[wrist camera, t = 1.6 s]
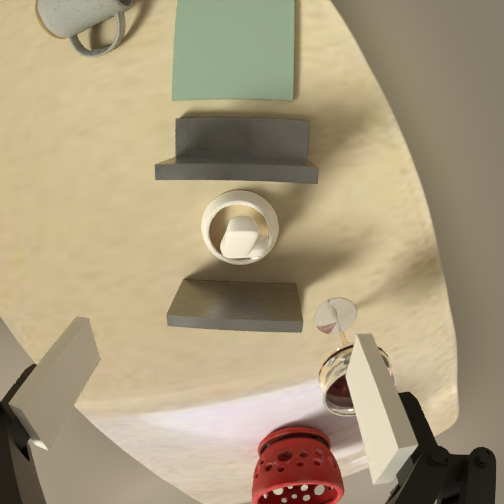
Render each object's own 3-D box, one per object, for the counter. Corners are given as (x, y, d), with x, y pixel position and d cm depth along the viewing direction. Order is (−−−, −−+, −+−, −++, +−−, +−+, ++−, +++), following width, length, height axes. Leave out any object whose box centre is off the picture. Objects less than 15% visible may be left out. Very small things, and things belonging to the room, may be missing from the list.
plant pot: (341, 447, 45) (351, 504, 34) (270, 464, 48) (270, 520, 37) (323, 408, 41) (335, 476, 30) (240, 429, 43) (235, 494, 32)
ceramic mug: (64, 1, 22) (25, -16, 14) (127, -34, 20) (97, -62, 13) (79, 73, 25) (36, 66, 18) (147, 38, 24) (114, 18, 17)
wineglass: (303, 339, 36) (315, 418, 25) (310, 289, 34) (330, 364, 23) (357, 340, 36) (384, 413, 25) (369, 291, 34) (408, 361, 22)
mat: (179, 0, 23) (177, -2, 22) (293, -2, 22) (294, -4, 22) (173, 100, 27) (171, 100, 26) (292, 101, 27) (292, 100, 26)
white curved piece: (290, 143, 23) (312, 229, 22) (267, 203, 35) (279, 265, 33) (191, 153, 22) (202, 245, 21) (198, 212, 34) (208, 276, 32)
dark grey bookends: (178, 118, 27) (154, 116, 21) (307, 121, 27) (321, 118, 21) (186, 316, 35) (172, 355, 29) (292, 321, 35) (297, 362, 29)
